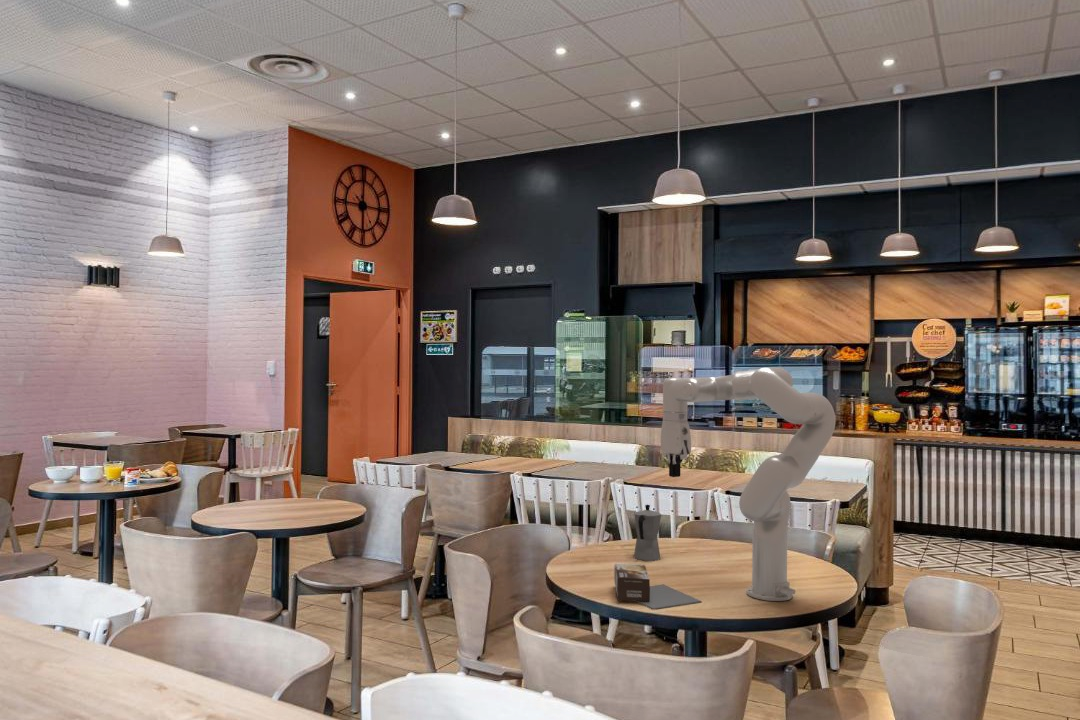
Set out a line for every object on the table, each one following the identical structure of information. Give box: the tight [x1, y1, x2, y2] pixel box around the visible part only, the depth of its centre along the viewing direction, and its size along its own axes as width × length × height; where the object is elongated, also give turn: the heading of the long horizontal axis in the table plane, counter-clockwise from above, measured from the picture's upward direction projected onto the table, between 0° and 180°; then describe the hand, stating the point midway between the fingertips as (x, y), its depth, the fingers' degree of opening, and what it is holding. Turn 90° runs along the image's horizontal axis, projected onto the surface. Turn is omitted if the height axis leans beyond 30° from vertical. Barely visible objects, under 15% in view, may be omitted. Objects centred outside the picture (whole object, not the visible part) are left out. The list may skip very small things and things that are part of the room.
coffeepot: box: [633, 504, 662, 562], centre depth 262 cm, size 15×9×18 cm, turn 156°
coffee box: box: [613, 563, 651, 602], centre depth 219 cm, size 9×6×16 cm
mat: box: [635, 583, 703, 610], centre depth 217 cm, size 18×16×1 cm
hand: (674, 476), depth 241 cm, fingers closed
